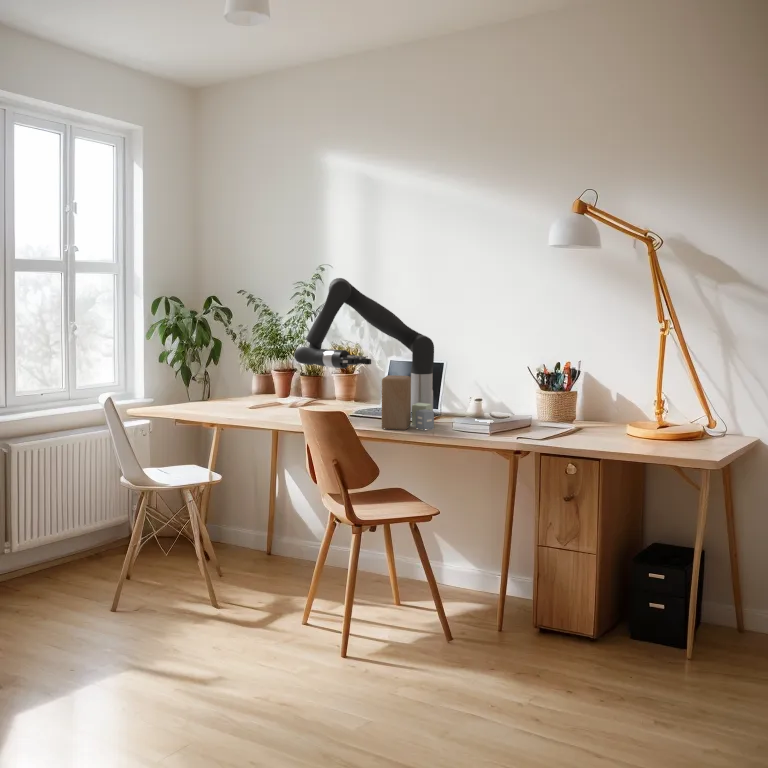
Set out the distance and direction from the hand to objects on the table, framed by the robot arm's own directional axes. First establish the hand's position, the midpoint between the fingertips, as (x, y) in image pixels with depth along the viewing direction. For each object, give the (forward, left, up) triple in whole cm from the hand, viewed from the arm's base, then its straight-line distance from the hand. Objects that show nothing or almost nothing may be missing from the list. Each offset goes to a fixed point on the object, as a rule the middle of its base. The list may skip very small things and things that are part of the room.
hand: (370, 361), depth 339 cm
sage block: (-9, +19, -25) cm, 32 cm away
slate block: (-2, +25, -25) cm, 35 cm away
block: (+3, +15, -25) cm, 29 cm away
